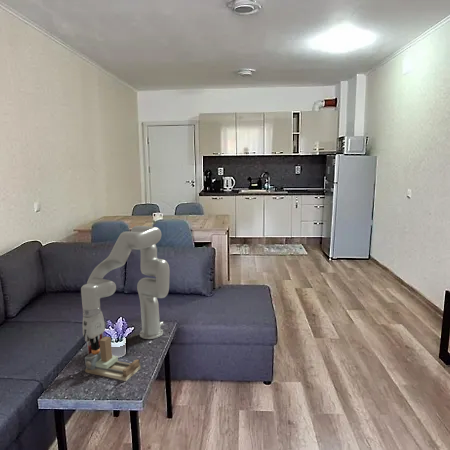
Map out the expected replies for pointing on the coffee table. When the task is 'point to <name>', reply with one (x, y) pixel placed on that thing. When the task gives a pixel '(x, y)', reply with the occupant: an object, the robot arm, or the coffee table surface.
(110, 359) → the carriage
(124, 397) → the coffee table surface
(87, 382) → the coffee table surface
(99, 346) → the soda can
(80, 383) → the coffee table surface
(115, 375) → the rail bed
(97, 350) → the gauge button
